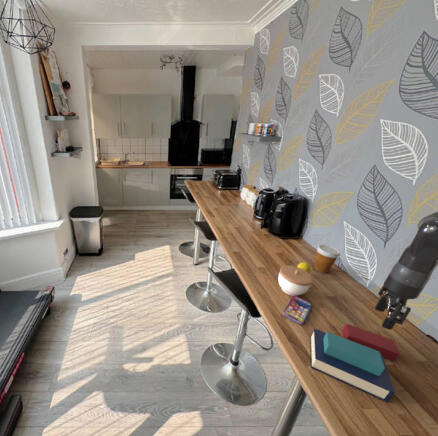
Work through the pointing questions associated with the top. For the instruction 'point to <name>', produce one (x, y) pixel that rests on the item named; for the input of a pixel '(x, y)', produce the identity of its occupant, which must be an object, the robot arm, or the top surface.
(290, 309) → the smartphone
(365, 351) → the teal rectangular block
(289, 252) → the top surface
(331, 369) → the big book
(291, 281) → the lidded bowl
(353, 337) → the red rectangular block
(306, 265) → the lemon
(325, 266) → the disposable coffee cup
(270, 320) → the top surface
